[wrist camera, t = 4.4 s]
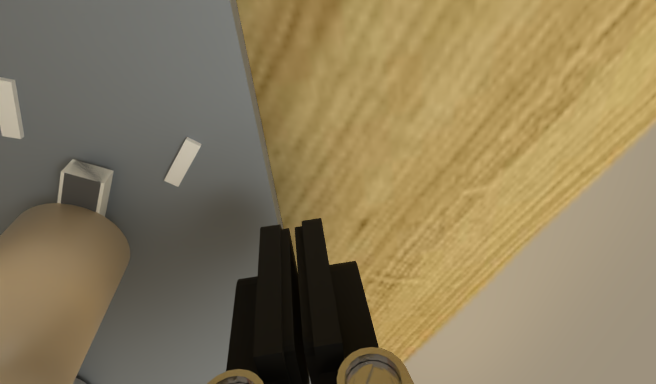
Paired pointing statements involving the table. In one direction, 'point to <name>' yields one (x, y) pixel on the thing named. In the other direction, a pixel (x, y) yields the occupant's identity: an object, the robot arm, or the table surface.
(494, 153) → the table surface
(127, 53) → the dial board
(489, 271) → the table surface
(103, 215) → the tuning lever
